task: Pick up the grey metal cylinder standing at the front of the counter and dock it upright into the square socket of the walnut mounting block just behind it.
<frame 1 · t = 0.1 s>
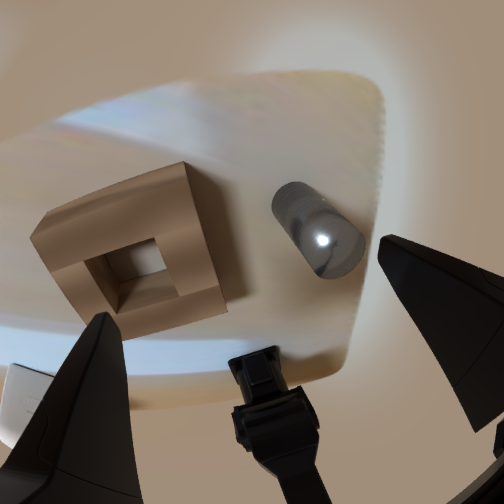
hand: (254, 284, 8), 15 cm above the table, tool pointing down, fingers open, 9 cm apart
grey metal cylinder: (293, 203, 24), on the table
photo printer: (40, 376, 28), on the table
socket block: (135, 250, 23), on the table
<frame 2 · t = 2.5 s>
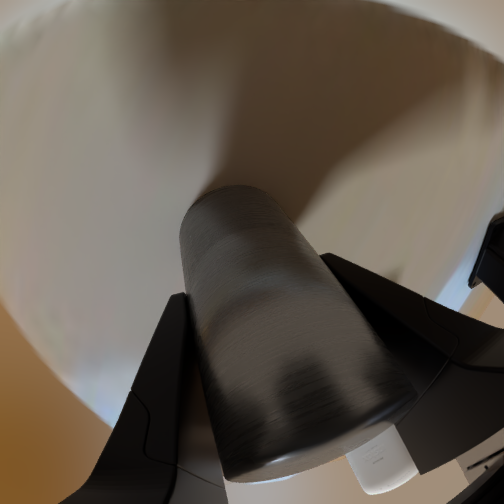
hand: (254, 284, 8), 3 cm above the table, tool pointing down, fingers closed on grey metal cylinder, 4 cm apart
grey metal cylinder: (233, 235, 11), on the table, touching gripper
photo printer: (365, 422, 35), on the table
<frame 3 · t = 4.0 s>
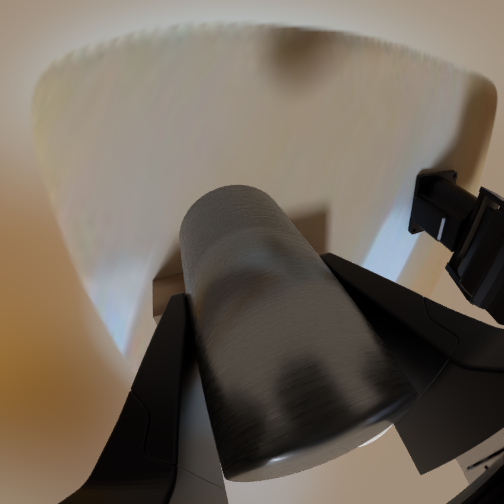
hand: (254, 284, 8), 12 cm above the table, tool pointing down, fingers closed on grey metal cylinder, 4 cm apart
grey metal cylinder: (233, 235, 11), point 9 cm above the table, touching gripper
socket block: (236, 312, 26), on the table
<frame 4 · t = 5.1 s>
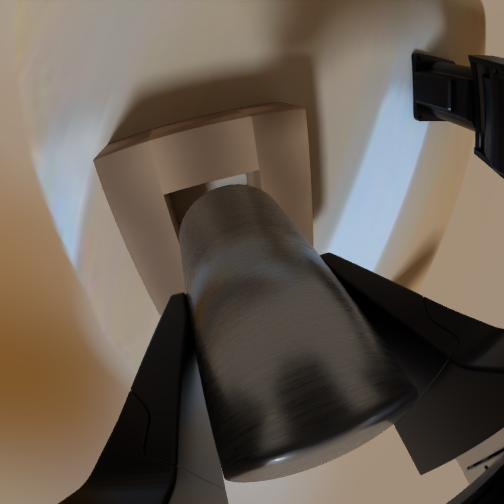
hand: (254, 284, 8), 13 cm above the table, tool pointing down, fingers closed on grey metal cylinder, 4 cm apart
grey metal cylinder: (233, 235, 11), point 10 cm above the table, touching gripper
socket block: (211, 198, 21), on the table
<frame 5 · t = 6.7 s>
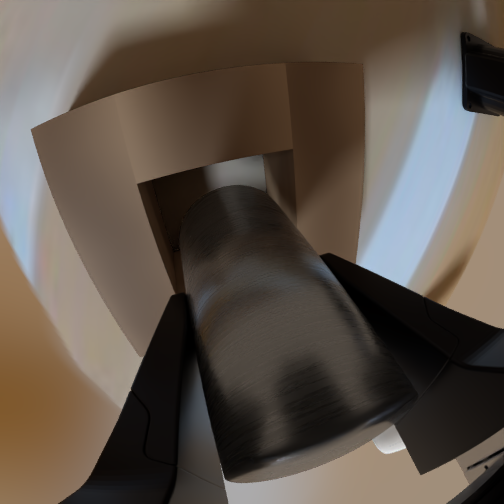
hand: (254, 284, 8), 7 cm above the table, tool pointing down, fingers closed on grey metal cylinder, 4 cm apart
grey metal cylinder: (233, 235, 11), point 4 cm above the table, touching gripper
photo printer: (372, 353, 30), on the table
socket block: (212, 193, 14), on the table
when the fingers open (5 cm above the table, at t = 8.0 s): grey metal cylinder drops 2 cm, resting in socket block.
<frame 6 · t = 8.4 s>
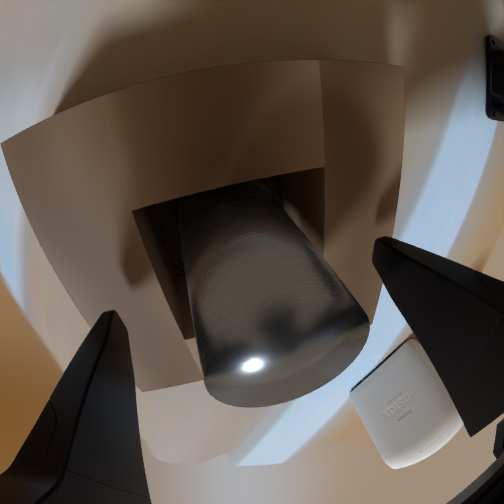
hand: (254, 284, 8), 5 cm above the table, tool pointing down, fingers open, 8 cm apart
grey metal cylinder: (223, 210, 12), resting in socket block
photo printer: (381, 367, 28), on the table
socket block: (222, 211, 12), on the table
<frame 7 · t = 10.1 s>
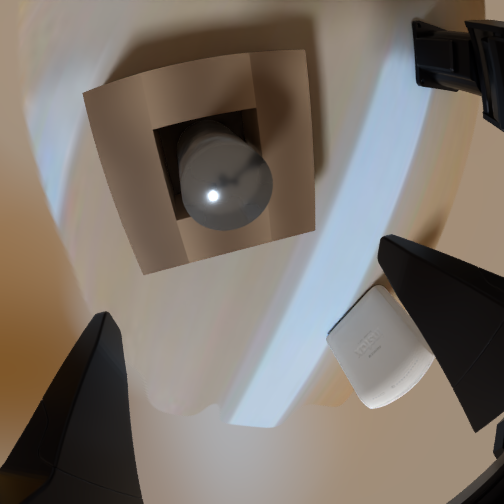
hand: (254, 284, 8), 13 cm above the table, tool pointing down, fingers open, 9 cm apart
grey metal cylinder: (206, 148, 18), resting in socket block
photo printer: (355, 313, 34), on the table
socket block: (205, 148, 18), on the table
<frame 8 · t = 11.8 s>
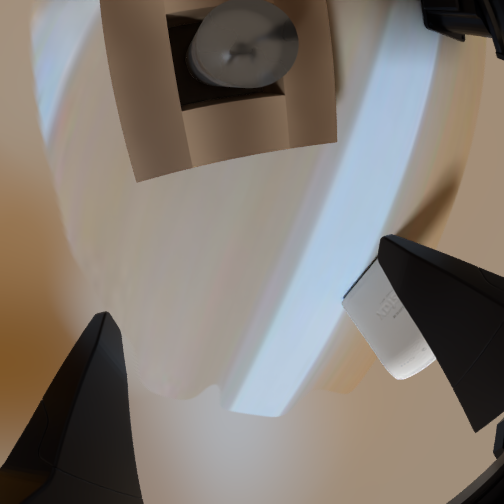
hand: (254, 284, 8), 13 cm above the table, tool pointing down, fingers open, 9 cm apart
grey metal cylinder: (217, 57, 15), resting in socket block
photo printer: (372, 274, 31), on the table
socket block: (216, 58, 15), on the table
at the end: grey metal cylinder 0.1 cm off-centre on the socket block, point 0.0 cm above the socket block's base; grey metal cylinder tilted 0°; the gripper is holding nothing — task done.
